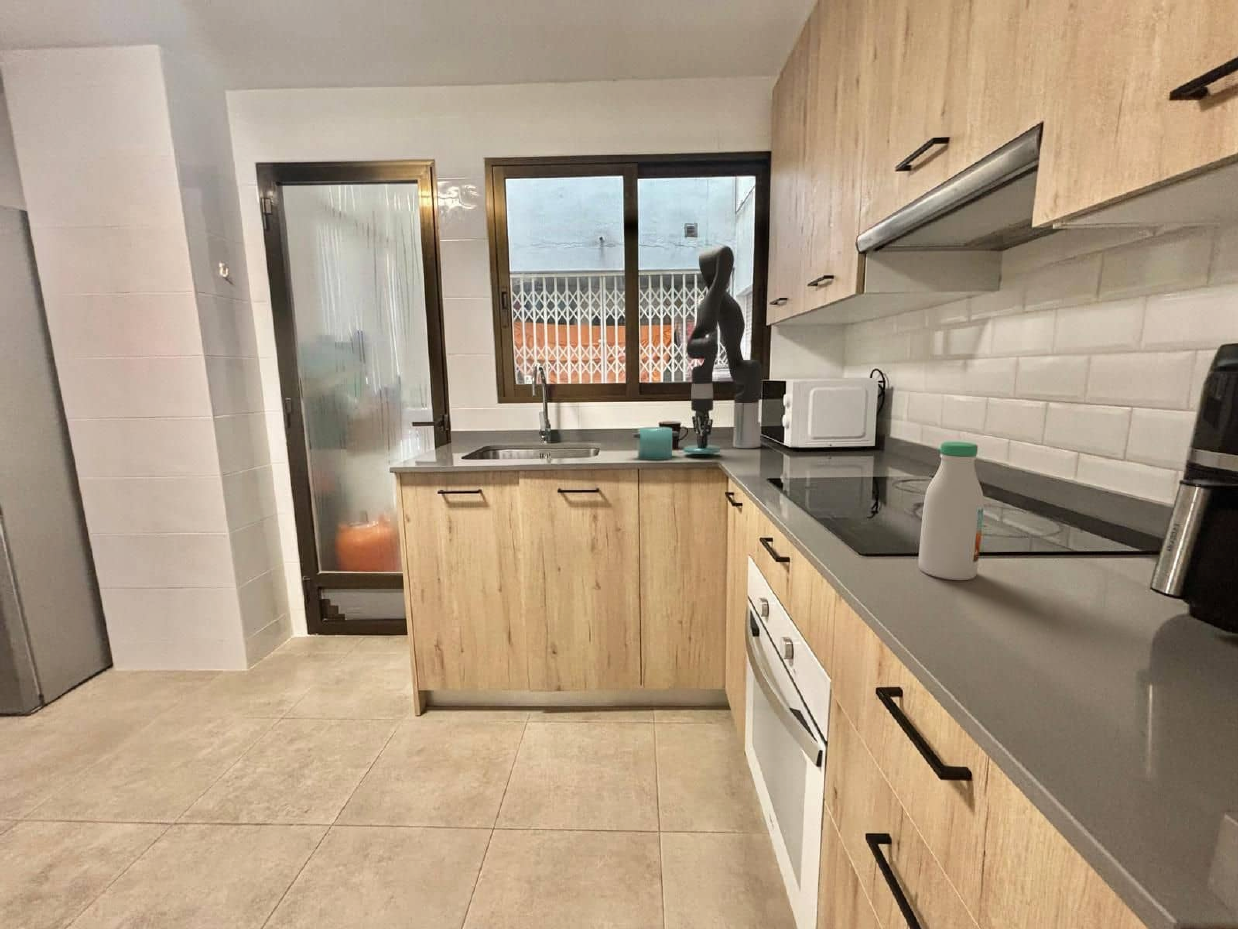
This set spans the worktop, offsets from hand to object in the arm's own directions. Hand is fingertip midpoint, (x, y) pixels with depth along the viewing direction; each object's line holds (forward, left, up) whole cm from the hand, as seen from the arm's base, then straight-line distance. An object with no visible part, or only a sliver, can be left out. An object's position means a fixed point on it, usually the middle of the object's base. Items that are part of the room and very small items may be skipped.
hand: (702, 445), depth 189 cm
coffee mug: (+4, -20, -4) cm, 21 cm away
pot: (+16, -3, -4) cm, 17 cm away
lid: (0, 0, -2) cm, 2 cm away
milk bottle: (+4, +111, -4) cm, 111 cm away
